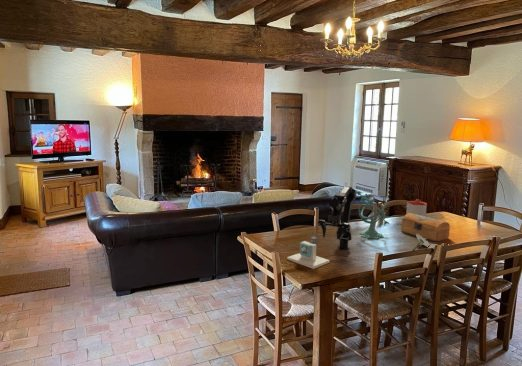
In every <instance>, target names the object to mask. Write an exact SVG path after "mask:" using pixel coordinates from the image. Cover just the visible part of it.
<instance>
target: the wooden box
mask: <svg viewBox="0 0 522 366" xmlns="http://www.w3.org/2000/svg"><path fill="white" fill-rule="evenodd" d="M450 227H451V225H450V223H449V222H447V221H443V220H441V219H440V220H439V219H437V218H433V217H428V216H421V215H416V214H412V213H408V214H405V215H403V217H402V219H401V230H400V231H401V233H405V234H408V233H409V235H411V234H412V235H411V236H415V235H416V234H420V236H421V235H422V237H423V238H427V239H426V240H429V239H430V240H429V241H432V240H433V242H436V241H438V242H441V240H442V241H445V240H448V239H447V238H449V237H450V230H451V228H450ZM444 239H445V240H444Z"/></svg>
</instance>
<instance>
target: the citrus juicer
mask: <svg viewBox="0 0 522 366" xmlns="http://www.w3.org/2000/svg"><path fill="white" fill-rule="evenodd" d="M427 205H428V203H427V202H424V201H420V200H419V199H415V200H410V202H408V201H407V202H406V205H405V208H406V212H405V213H406V214H408V213H412V214H416V215H421V216H425V217H427V207H428V206H427ZM406 214H405V215H406Z"/></svg>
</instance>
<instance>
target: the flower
mask: <svg viewBox="0 0 522 366" xmlns="http://www.w3.org/2000/svg"><path fill="white" fill-rule="evenodd" d="M415 237H416V239H417V240H418V241H419V243H418V244H417V245H416V246H417V247H419V246H420V244H422V245H424V247H427V248H429V247H428V246H429V245H430V246H431V243H429V241H428V240H427V239H425V238H422V235H421V236H420V234H416V236H415ZM416 246H415V247H414V248H413V249H412V250H414V249H417V247H416ZM414 251H415V250H414Z"/></svg>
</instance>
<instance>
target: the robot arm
mask: <svg viewBox="0 0 522 366" xmlns="http://www.w3.org/2000/svg"><path fill="white" fill-rule="evenodd" d="M356 198H357V191H356V189H354V188H353V187H352V186H351V185H343V188H342V189H341V190H340V191H339V192H338V193H335V194H334V195H333V196H332V198H331V199H330V200H329V202H328V205H329V207H330V209H331V210H332V211H331V214H330V215H328V216H327V217H328V218H327V221H326V220H325V219H318V222H317V224H318V225H317V226H319V227H320V229H321V231H322V237H323V239H324V238H325V237H326V233H327V227H334V228H338V229H337V230H336V239H337V240H338V241H339V245H337V248H339V250H350V247H349V241H352V240H353V239H352V237H353V236H352V232H351V230H352V229H351V225H350V217H351V211H352V205H353V204H354V202H355V200H356ZM343 206H344V207H343ZM340 222H341V223H340Z"/></svg>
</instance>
